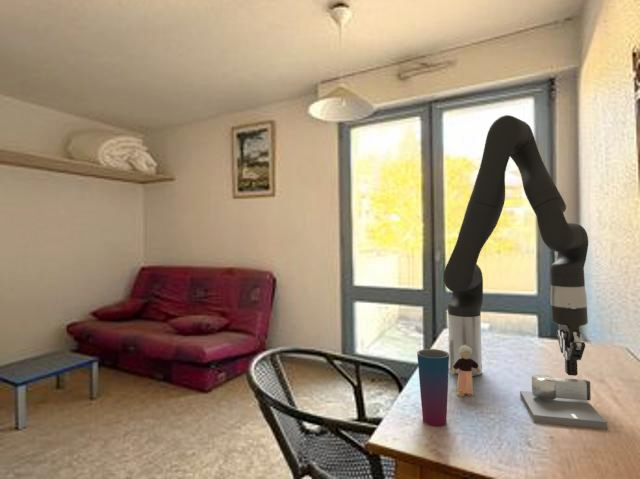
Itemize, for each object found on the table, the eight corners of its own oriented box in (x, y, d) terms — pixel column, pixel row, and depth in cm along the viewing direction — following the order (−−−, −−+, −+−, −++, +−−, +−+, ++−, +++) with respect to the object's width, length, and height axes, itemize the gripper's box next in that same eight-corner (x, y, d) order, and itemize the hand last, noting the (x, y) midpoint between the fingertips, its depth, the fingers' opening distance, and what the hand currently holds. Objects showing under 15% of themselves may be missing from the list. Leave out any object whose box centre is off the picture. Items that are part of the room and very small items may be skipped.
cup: (426, 411, 89) (424, 347, 89) (455, 419, 85) (453, 352, 85) (413, 422, 84) (411, 354, 84) (443, 431, 80) (441, 360, 80)
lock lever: (534, 398, 89) (534, 381, 89) (529, 390, 94) (529, 373, 94) (594, 403, 86) (594, 385, 86) (586, 394, 91) (585, 377, 91)
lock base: (533, 421, 83) (533, 414, 83) (520, 396, 96) (520, 390, 96) (608, 429, 79) (608, 421, 79) (583, 402, 92) (583, 395, 92)
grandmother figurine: (458, 399, 96) (457, 348, 96) (449, 393, 100) (448, 344, 100) (484, 395, 98) (483, 345, 98) (474, 389, 102) (473, 341, 102)
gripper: (543, 299, 102) (546, 365, 102) (559, 308, 89) (563, 383, 89) (576, 300, 100) (579, 366, 99) (597, 308, 87) (600, 385, 87)
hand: (571, 374), depth 94 cm, fingers closed
